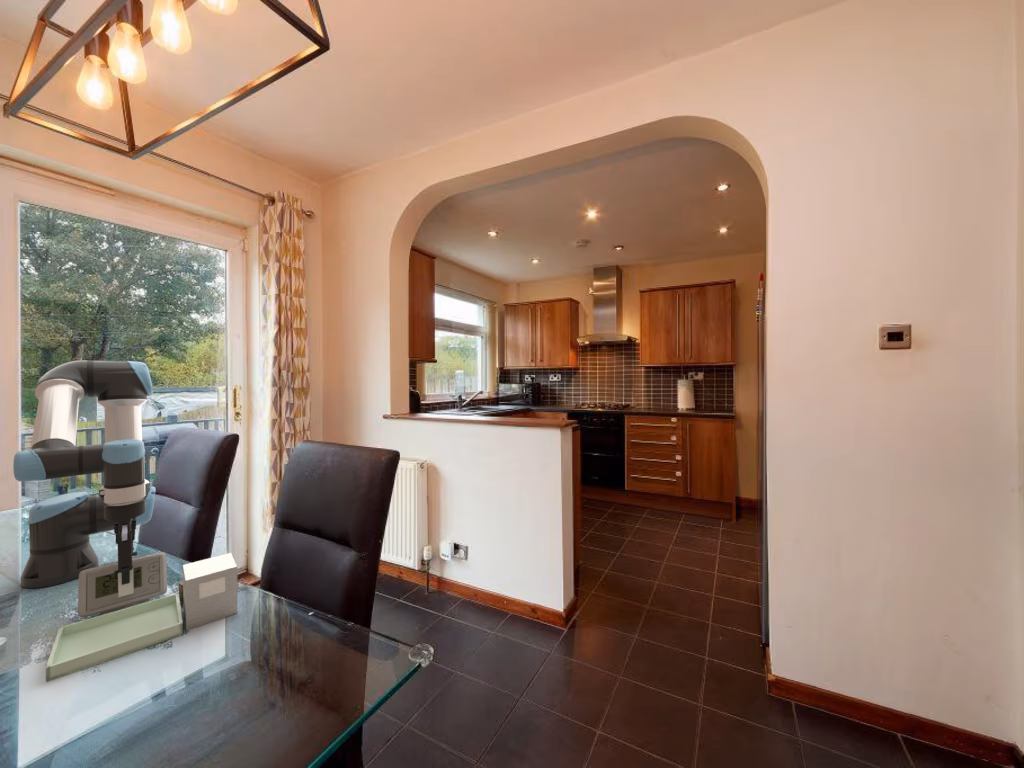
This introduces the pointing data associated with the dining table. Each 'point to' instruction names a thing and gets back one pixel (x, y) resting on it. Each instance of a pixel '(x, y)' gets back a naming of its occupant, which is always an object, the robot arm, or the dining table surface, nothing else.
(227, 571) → the light grey labelled box
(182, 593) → the walnut block
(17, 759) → the dining table surface
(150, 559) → the digital clock
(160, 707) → the dining table surface
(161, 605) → the tray
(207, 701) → the dining table surface
